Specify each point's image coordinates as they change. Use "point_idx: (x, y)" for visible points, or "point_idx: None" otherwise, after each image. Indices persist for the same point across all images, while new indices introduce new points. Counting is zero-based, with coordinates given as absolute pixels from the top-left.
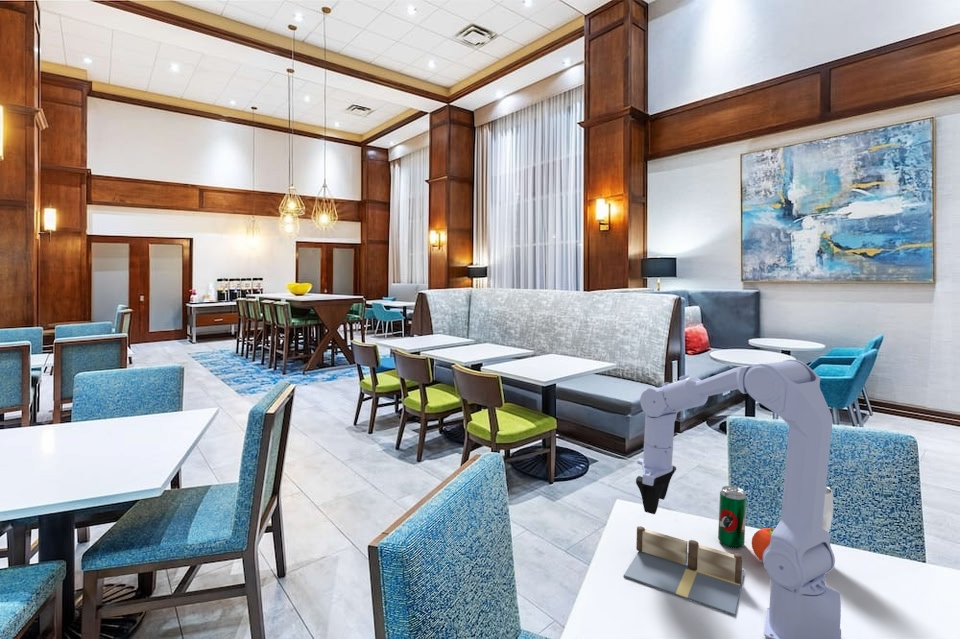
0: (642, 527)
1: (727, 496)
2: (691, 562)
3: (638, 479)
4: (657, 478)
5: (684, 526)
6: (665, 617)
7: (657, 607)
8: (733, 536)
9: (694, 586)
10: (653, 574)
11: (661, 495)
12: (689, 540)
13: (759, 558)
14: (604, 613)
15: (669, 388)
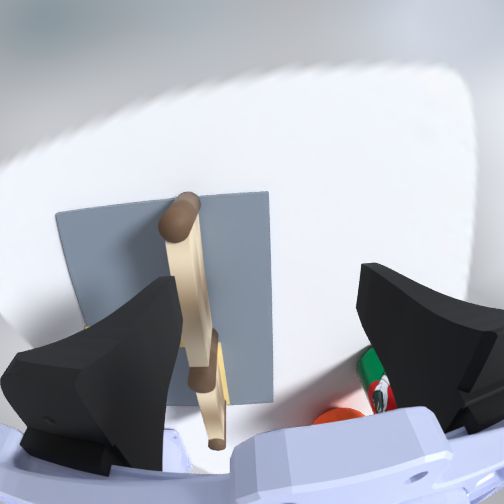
0: (185, 229)
1: None
2: None
3: (17, 392)
4: (414, 344)
5: (419, 259)
6: (29, 319)
7: (36, 303)
8: (364, 390)
9: None
10: (107, 272)
11: (364, 308)
12: (205, 375)
13: (317, 418)
14: None
15: None
